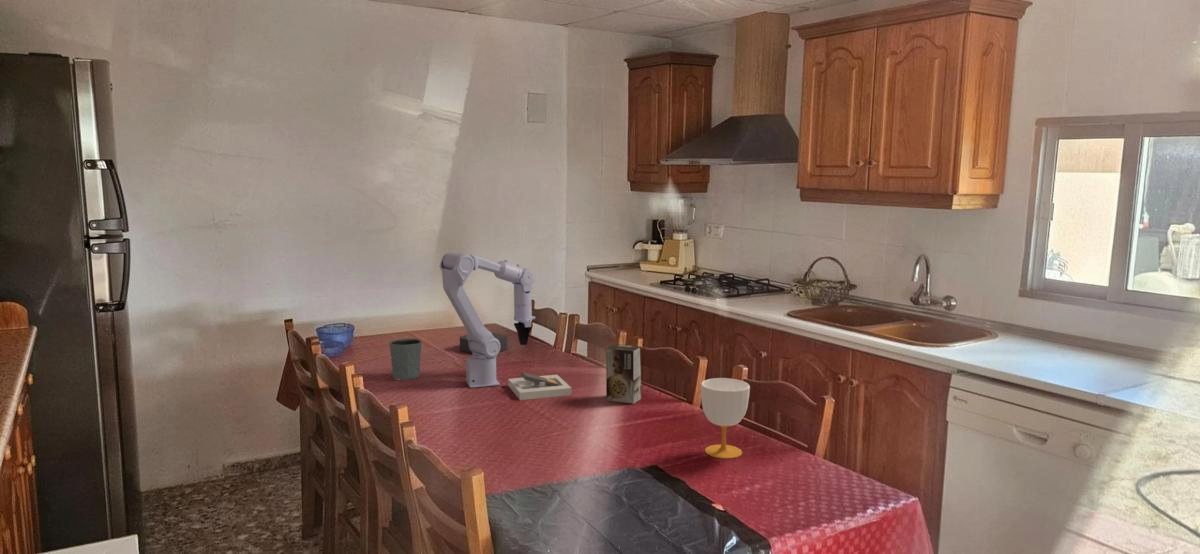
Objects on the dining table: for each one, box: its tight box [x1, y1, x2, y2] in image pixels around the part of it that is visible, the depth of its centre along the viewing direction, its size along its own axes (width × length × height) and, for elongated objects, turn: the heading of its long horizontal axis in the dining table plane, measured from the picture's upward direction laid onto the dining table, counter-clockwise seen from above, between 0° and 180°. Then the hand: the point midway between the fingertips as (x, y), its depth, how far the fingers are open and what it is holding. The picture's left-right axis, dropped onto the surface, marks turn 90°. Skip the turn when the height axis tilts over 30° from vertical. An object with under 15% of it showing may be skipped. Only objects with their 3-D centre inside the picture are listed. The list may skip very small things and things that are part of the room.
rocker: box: [520, 371, 559, 387], centre depth 242 cm, size 11×5×1 cm, turn 109°
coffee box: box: [605, 343, 642, 405], centre depth 233 cm, size 9×6×16 cm
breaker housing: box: [507, 374, 573, 401], centre depth 242 cm, size 16×16×4 cm
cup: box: [700, 377, 751, 460], centre depth 190 cm, size 12×12×17 cm
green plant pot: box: [388, 338, 423, 381], centre depth 257 cm, size 10×10×12 cm
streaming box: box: [459, 331, 509, 354], centre depth 296 cm, size 14×14×5 cm
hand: (523, 344), depth 259 cm, fingers closed
